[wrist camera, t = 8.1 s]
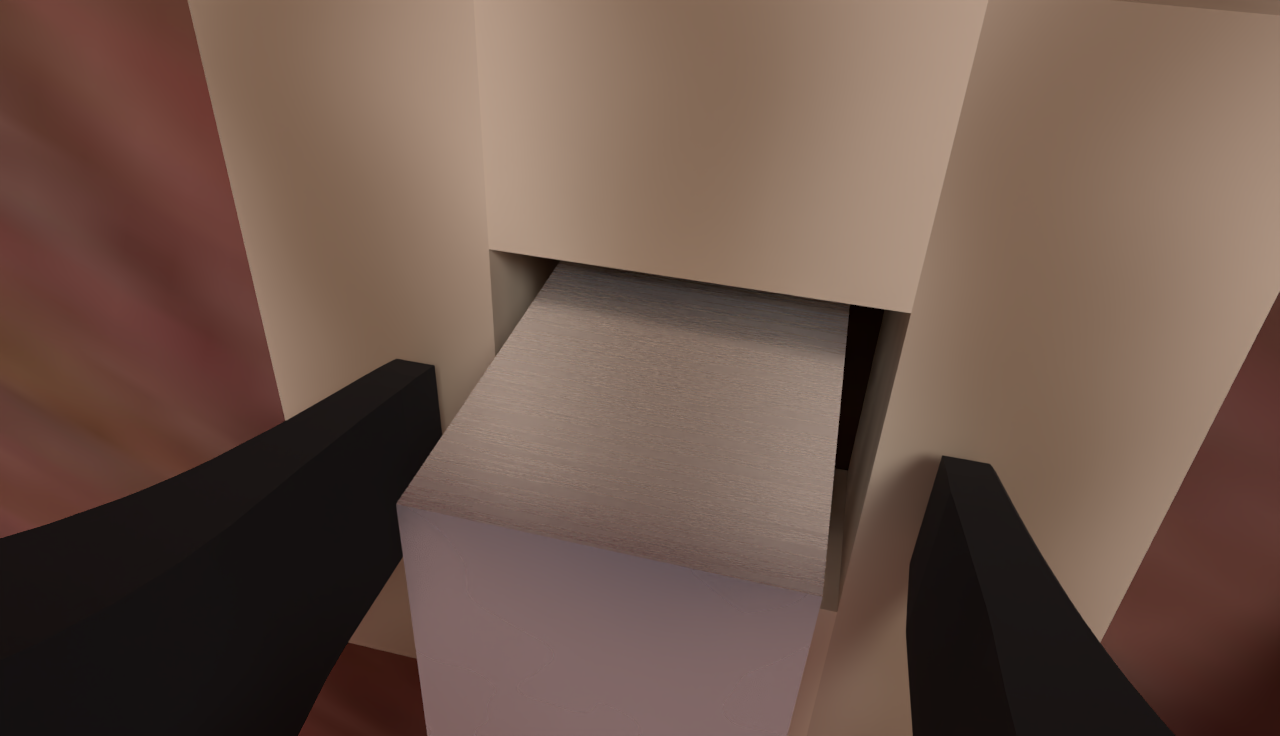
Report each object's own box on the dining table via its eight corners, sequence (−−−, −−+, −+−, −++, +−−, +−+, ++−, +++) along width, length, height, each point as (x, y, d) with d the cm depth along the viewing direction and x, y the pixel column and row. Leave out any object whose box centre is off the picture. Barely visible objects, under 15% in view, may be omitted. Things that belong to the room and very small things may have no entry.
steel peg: (858, 217, 14) (822, 596, 8) (815, 416, 17) (761, 836, 10) (614, 181, 15) (395, 504, 8) (605, 377, 17) (429, 748, 11)
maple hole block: (1284, -41, 11) (1414, 27, 8) (1000, 642, 18) (1019, 802, 16) (323, -119, 13) (168, -86, 10) (413, 519, 21) (336, 639, 18)
